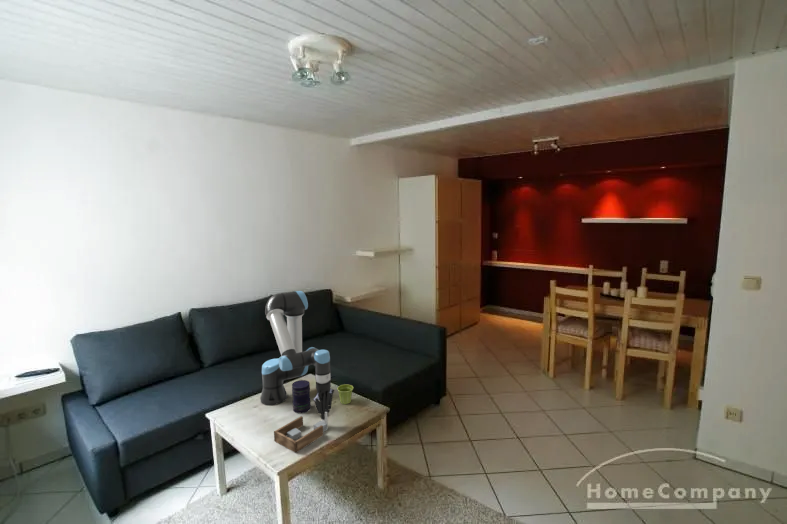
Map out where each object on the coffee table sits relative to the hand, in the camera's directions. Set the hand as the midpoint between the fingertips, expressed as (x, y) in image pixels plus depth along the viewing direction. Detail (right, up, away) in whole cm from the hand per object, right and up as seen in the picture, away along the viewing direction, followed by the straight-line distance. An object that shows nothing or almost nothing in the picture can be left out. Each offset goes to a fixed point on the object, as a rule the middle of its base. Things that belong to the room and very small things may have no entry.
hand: (324, 423), depth 193 cm
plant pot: (+8, +2, +26) cm, 27 cm away
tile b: (-2, -2, -3) cm, 4 cm away
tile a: (-14, -3, -9) cm, 16 cm away
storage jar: (-16, 0, +18) cm, 25 cm away
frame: (-11, -3, -9) cm, 14 cm away
